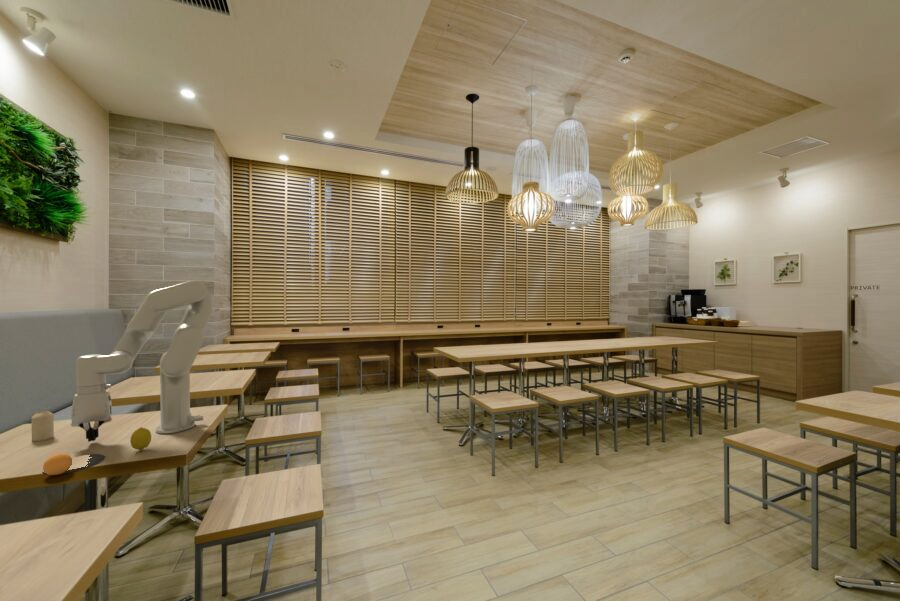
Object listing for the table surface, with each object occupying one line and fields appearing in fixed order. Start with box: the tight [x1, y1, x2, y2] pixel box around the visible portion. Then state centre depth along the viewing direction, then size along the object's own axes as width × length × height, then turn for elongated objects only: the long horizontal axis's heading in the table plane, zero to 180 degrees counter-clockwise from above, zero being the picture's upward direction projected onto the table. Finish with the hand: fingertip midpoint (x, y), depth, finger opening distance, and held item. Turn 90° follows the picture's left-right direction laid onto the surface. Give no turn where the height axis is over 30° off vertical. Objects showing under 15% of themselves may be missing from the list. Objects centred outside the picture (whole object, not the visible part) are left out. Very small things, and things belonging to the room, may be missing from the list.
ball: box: [42, 452, 72, 476], centre depth 111 cm, size 6×6×6 cm
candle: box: [30, 410, 55, 442], centre depth 138 cm, size 6×6×10 cm
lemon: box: [129, 426, 152, 452], centre depth 128 cm, size 6×6×8 cm
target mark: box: [44, 453, 106, 476], centre depth 118 cm, size 14×14×1 cm
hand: (92, 439), depth 134 cm, fingers closed
